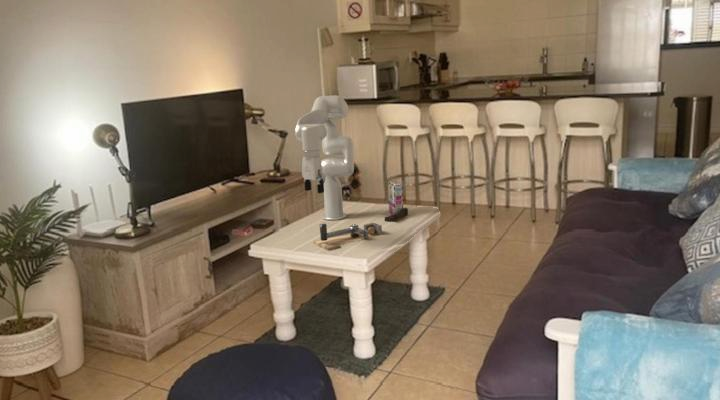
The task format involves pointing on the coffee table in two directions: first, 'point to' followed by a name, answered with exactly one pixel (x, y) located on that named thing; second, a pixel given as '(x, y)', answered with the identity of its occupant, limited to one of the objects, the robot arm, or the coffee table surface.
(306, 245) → the coffee table surface
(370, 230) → the walnut
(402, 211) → the hand tool
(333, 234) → the lever
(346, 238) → the tan wooden panel
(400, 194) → the candy bar box
